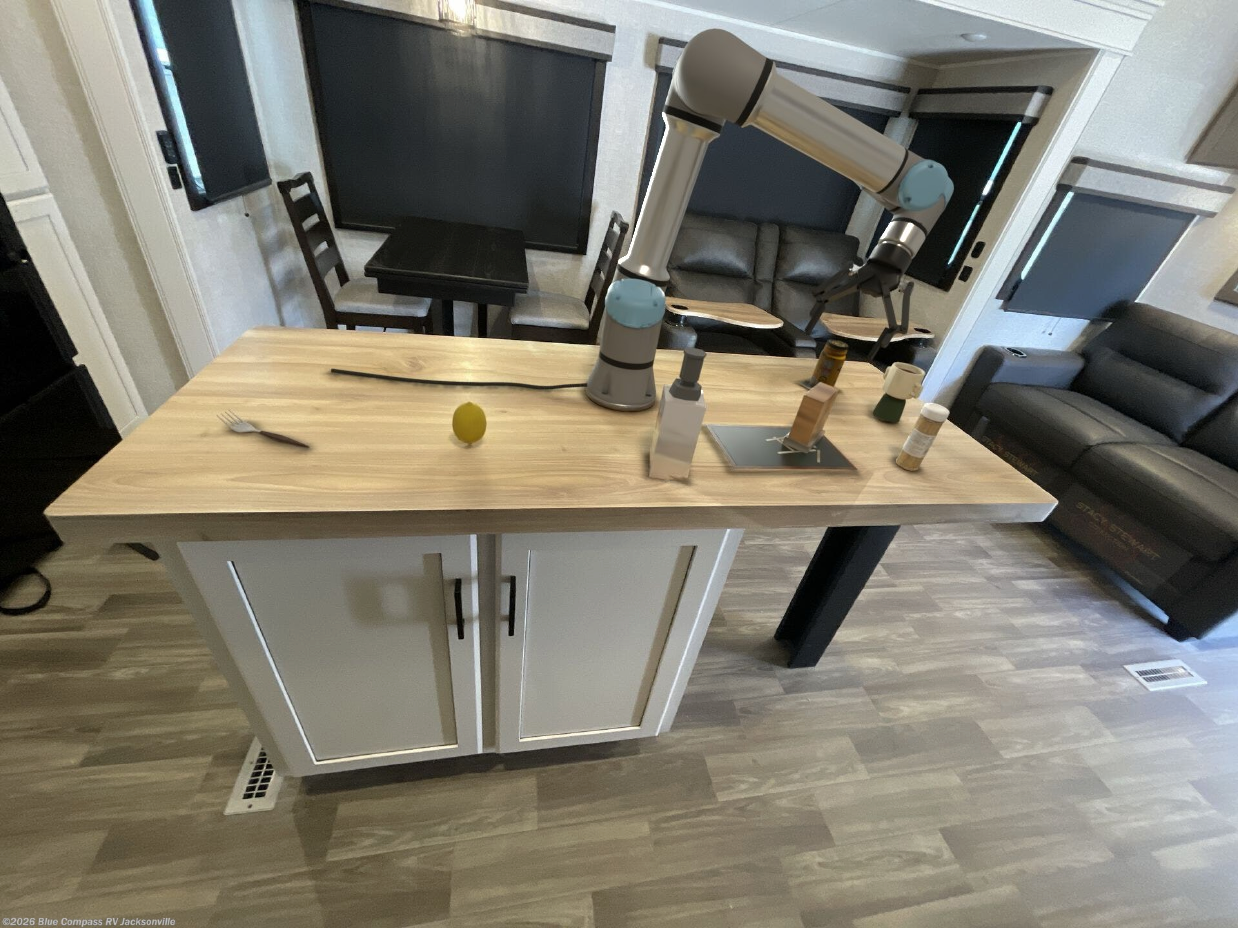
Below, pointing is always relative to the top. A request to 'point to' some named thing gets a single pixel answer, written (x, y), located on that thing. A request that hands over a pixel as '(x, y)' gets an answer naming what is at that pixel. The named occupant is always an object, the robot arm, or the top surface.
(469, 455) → the top surface
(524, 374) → the top surface
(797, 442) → the eraser
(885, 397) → the cream and green goblet
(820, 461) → the chalkboard
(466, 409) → the lemon
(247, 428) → the fork
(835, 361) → the condiment
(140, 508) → the top surface
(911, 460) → the sprinkles bottle
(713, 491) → the top surface
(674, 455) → the soap dispenser
